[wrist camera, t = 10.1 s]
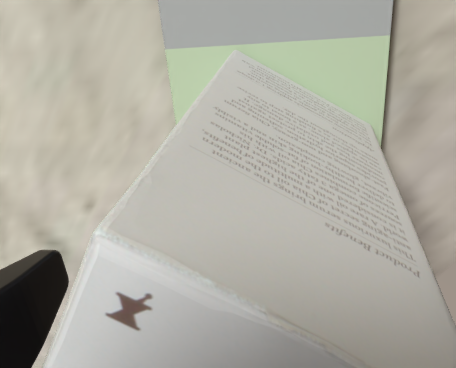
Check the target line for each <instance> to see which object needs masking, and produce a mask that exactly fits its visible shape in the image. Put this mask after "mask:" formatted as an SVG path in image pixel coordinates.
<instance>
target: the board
mask: <svg viewBox="0 0 456 368" xmlns="http://www.w3.org/2000/svg"><path fill="white" fill-rule="evenodd" d="M158 4H159V11H160V18H161V25H162V32H163V38H164V45H165V52H166V59H167V66H168V73H169V80H170V87H171V94H172V100H173V107H174V114H175V121H176V125H177V124H178V122H179V121H180V120H181V118H182V117H183V116H184V114H185V113H186V112H187V110H188V109H189V108H190V106H191V105H192V104H193V102H194V101H195V100H196V98H197V97H198V96H199V95H200V93H201V92H202V91H203V89H204V88H205V87H206V85H207V84H208V83H209V82H210V80H211V79H212V78H213V77H214V75H215V74H216V73H217V71H218V70H219V69H220V67H221V66H222V65H223V64H224V62H225V61H226V59H227V58H228V57H229V55H230V54H231V53H232V52H233V51H234V50H238V51H240V52H242V53H243V54H245V55H246V56H248V57H250V58H252V59H254V60H256V61H257V62H259V63H261V64H263V65H265V66H266V67H268V68H270V69H272V70H274V71H275V72H277V73H279V74H281V75H283V76H285V77H286V78H288V79H290V80H292V81H293V82H295V83H297V84H299V85H301V86H302V87H304V88H306V89H308V90H310V91H312V92H313V93H315V94H317V95H318V96H320V97H322V98H324V99H326V100H328V101H329V102H331V103H333V104H335V105H336V106H338V107H340V108H342V109H344V110H345V111H347V112H349V113H351V114H353V115H354V116H356V117H358V118H360V119H361V120H363V121H365V122H367V123H369V124H370V125H371V126H372V128H373V130H374V133H375V135H376V138H377V140H378V142H379V145H380V148H381V139H382V127H383V115H384V103H385V91H386V79H387V68H388V56H389V44H390V32H391V20H392V8H393V0H158Z"/></svg>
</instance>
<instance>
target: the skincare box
mask: <svg viewBox="0 0 456 368" xmlns="http://www.w3.org/2000/svg"><path fill="white" fill-rule="evenodd" d="M42 368H456V326H455V323H454V321H453V319H452V317H451V314H450V312H449V309H448V307H447V305H446V302H445V300H444V298H443V295H442V292H441V290H440V288H439V285H438V283H437V280H436V278H435V276H434V274H433V271H432V269H431V267H430V264H429V262H428V260H427V257H426V255H425V252H424V250H423V248H422V245H421V243H420V240H419V238H418V235H417V233H416V231H415V228H414V226H413V224H412V221H411V219H410V216H409V213H408V211H407V209H406V207H405V205H404V202H403V200H402V197H401V195H400V193H399V190H398V188H397V185H396V183H395V181H394V178H393V176H392V174H391V171H390V169H389V167H388V164H387V162H386V159H385V157H384V154H383V152H382V150H381V148H380V145H379V142H378V140H377V138H376V135H375V133H374V130H373V128H372V126H371V125H370V124H369V123H367V122H365V121H363V120H361V119H360V118H358V117H356V116H354V115H353V114H351V113H349V112H347V111H345V110H344V109H342V108H340V107H338V106H336V105H335V104H333V103H331V102H329V101H328V100H326V99H324V98H322V97H320V96H318V95H317V94H315V93H313V92H312V91H310V90H308V89H306V88H304V87H302V86H301V85H299V84H297V83H295V82H293V81H292V80H290V79H288V78H286V77H285V76H283V75H281V74H279V73H277V72H275V71H274V70H272V69H270V68H268V67H266V66H265V65H263V64H261V63H259V62H257V61H256V60H254V59H252V58H250V57H248V56H246V55H245V54H243V53H242V52H240V51H238V50H234V51H233V52H232V53H231V54H230V55H229V57H228V58H227V59H226V61H225V62H224V64H223V65H222V66H221V67H220V69H219V70H218V71H217V73H216V74H215V75H214V77H213V78H212V79H211V80H210V82H209V83H208V84H207V85H206V87H205V88H204V89H203V91H202V92H201V93H200V95H199V96H198V97H197V98H196V100H195V101H194V102H193V104H192V105H191V106H190V108H189V109H188V110H187V112H186V113H185V114H184V116H183V117H182V118H181V120H180V121H179V122H178V124H177V125H176V126H175V128H174V129H173V130H172V131H171V133H170V134H169V135H168V137H167V138H166V139H165V141H164V142H163V144H162V145H161V146H160V148H159V149H158V150H157V152H156V153H155V154H154V156H153V157H152V158H151V160H150V161H149V163H148V164H147V165H146V167H145V168H144V170H143V171H142V172H141V174H140V175H139V176H138V178H137V179H136V180H135V181H134V183H133V184H132V185H131V186H130V188H129V189H128V190H127V191H126V192H125V194H124V195H123V196H122V197H121V199H120V200H119V201H118V202H117V204H116V205H115V206H114V207H113V209H112V210H111V211H110V212H109V213H108V215H107V216H106V217H105V218H104V220H103V221H102V222H101V223H100V224H99V226H98V227H97V228H96V229H95V230H94V231H93V233H92V235H91V238H90V241H89V244H88V247H87V250H86V253H85V255H84V258H83V261H82V263H81V266H80V269H79V272H78V274H77V277H76V280H75V282H74V285H73V288H72V290H71V293H70V296H69V298H68V301H67V303H66V306H65V309H64V311H63V314H62V316H61V319H60V322H59V324H58V327H57V330H56V332H55V335H54V337H53V340H52V342H51V345H50V348H49V350H48V353H47V355H46V358H45V361H44V363H43V366H42Z"/></svg>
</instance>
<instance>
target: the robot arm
mask: <svg viewBox="0 0 456 368" xmlns="http://www.w3.org/2000/svg"><path fill="white" fill-rule="evenodd" d="M68 283H69V279H68V275H67V272H66V268H65V265H64V262H63V259H62V256H61V254H60V253H59V251H57V250H39V251H37V252H35V253H33V254H31V255H29V256H27V257H25V258H23V259H21V260H19V261H17V262H15V263H13V264H11V265H9V266H7V267H5V268H3V269H1V270H0V368H31V367H32V366H33V364H34V362H35V360H36V358H37V356H38V354H39V353H40V351H41V349H42V347H43V345H44V342H45V340H46V338H47V336H48V333H49V331H50V329H51V326H52V324H53V322H54V319H55V317H56V314H57V312H58V310H59V307H60V305H61V303H62V300H63V298H64V295H65V293H66V291H67V288H68Z"/></svg>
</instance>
